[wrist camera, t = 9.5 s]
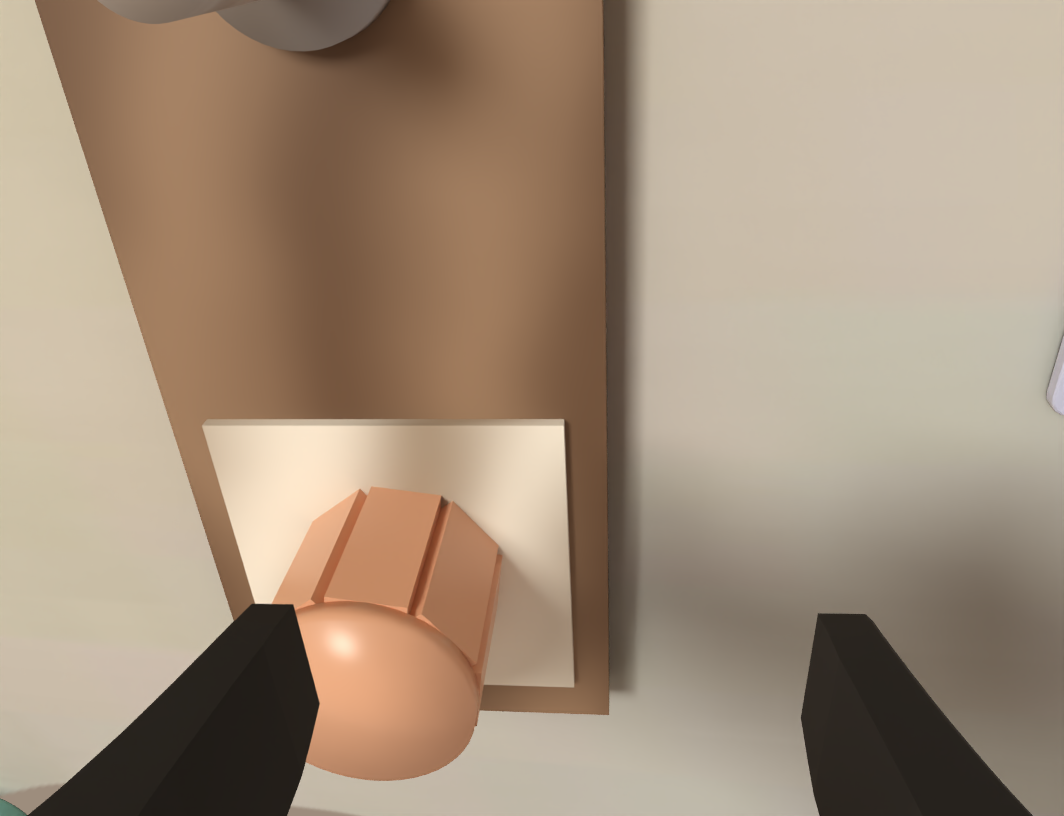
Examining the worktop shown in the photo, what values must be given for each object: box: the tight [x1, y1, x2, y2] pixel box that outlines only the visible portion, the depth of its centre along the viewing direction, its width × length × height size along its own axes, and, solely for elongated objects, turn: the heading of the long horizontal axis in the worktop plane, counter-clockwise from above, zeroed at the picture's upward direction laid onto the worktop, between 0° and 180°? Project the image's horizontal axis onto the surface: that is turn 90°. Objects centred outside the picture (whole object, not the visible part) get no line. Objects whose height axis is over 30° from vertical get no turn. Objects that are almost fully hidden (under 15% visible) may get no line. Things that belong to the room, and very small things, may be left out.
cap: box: [272, 486, 502, 781], centre depth 21 cm, size 5×5×5 cm
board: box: [35, 0, 609, 715], centre depth 17 cm, size 11×28×8 cm, turn 3°
